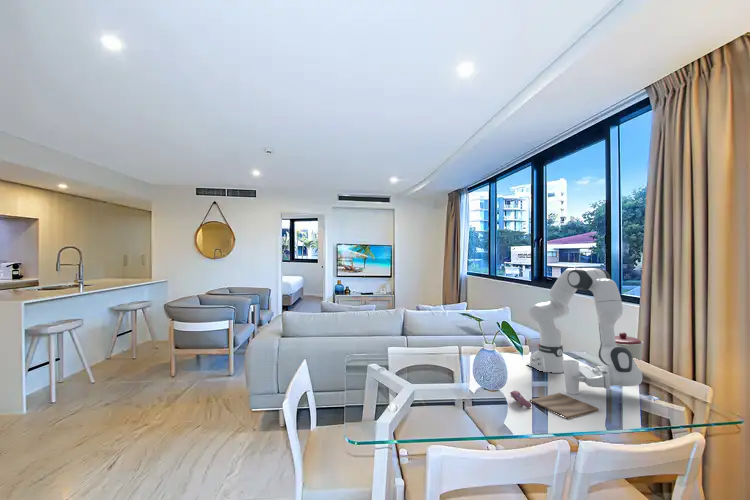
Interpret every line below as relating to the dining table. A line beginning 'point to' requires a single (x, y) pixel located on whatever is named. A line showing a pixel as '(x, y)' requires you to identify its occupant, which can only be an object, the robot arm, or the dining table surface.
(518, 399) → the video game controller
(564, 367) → the drinking glass
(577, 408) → the walnut board
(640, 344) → the canister
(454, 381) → the dining table surface
